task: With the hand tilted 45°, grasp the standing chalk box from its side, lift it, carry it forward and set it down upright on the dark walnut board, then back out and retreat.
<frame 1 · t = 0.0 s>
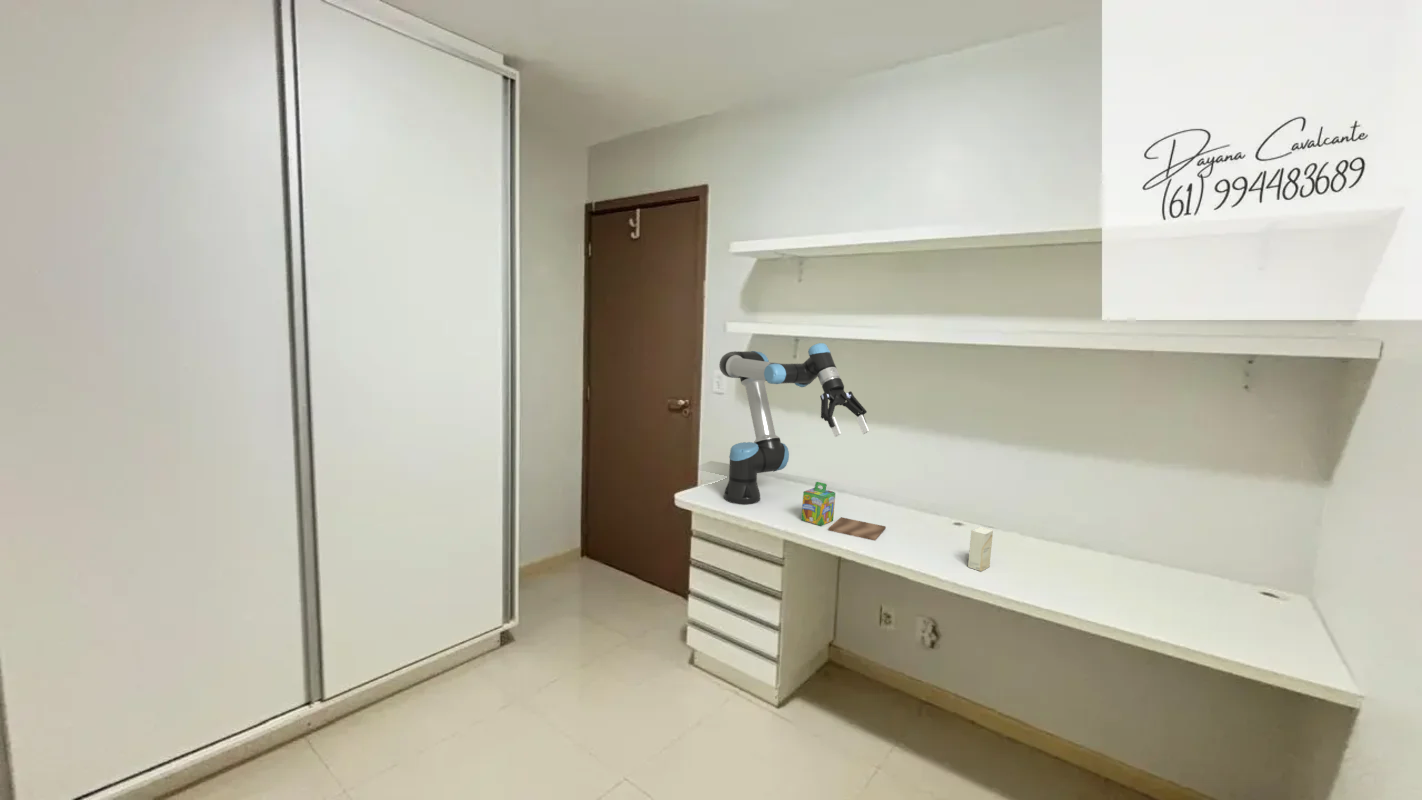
hand: (852, 433, 208), 36 cm above the table, tool tilted 35°, fingers open, 13 cm apart
walnut board: (857, 529, 215), on the table
skincare box: (978, 567, 185), on the table
chalk box: (817, 521, 223), on the table
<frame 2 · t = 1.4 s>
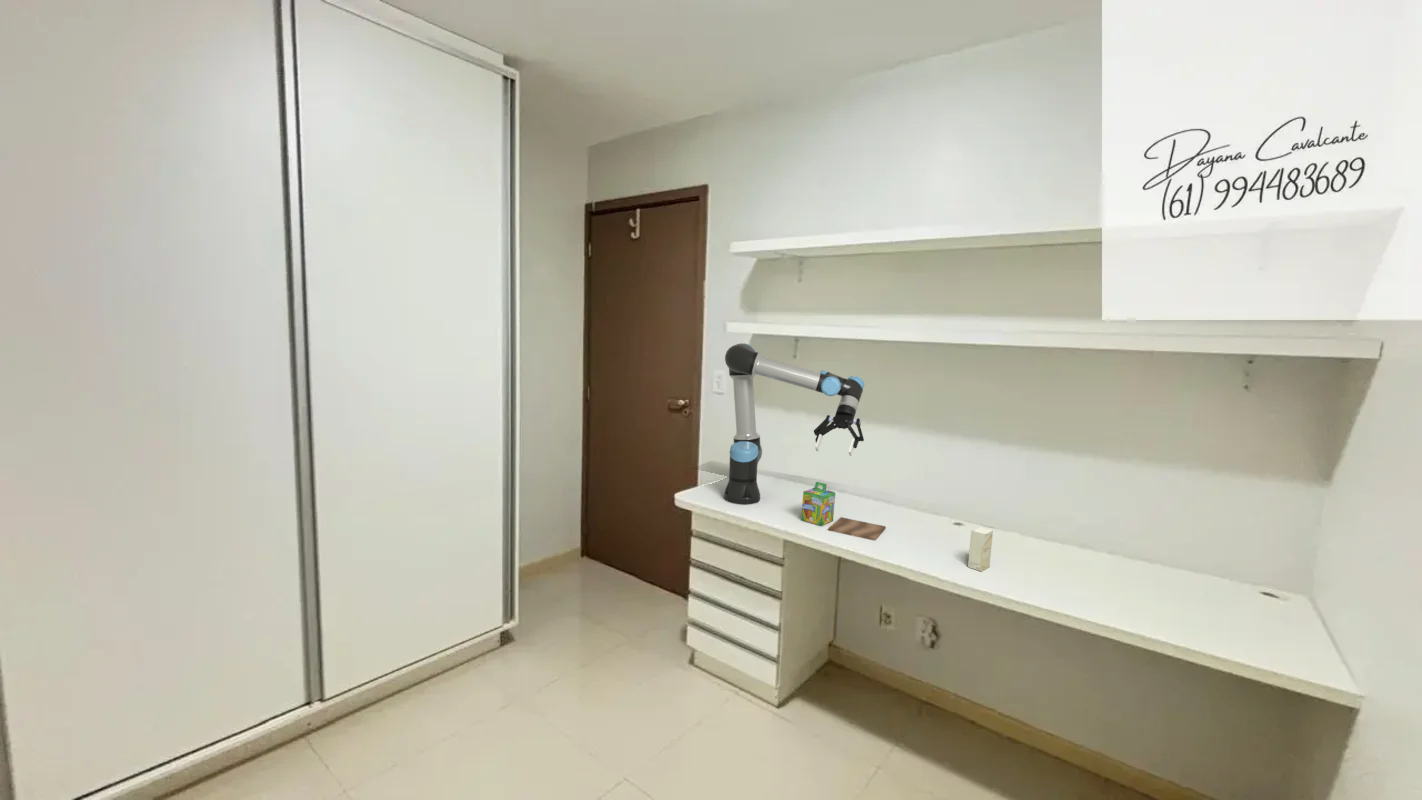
hand: (833, 451, 230), 25 cm above the table, tool tilted 45°, fingers open, 13 cm apart
nothing on the table moved.
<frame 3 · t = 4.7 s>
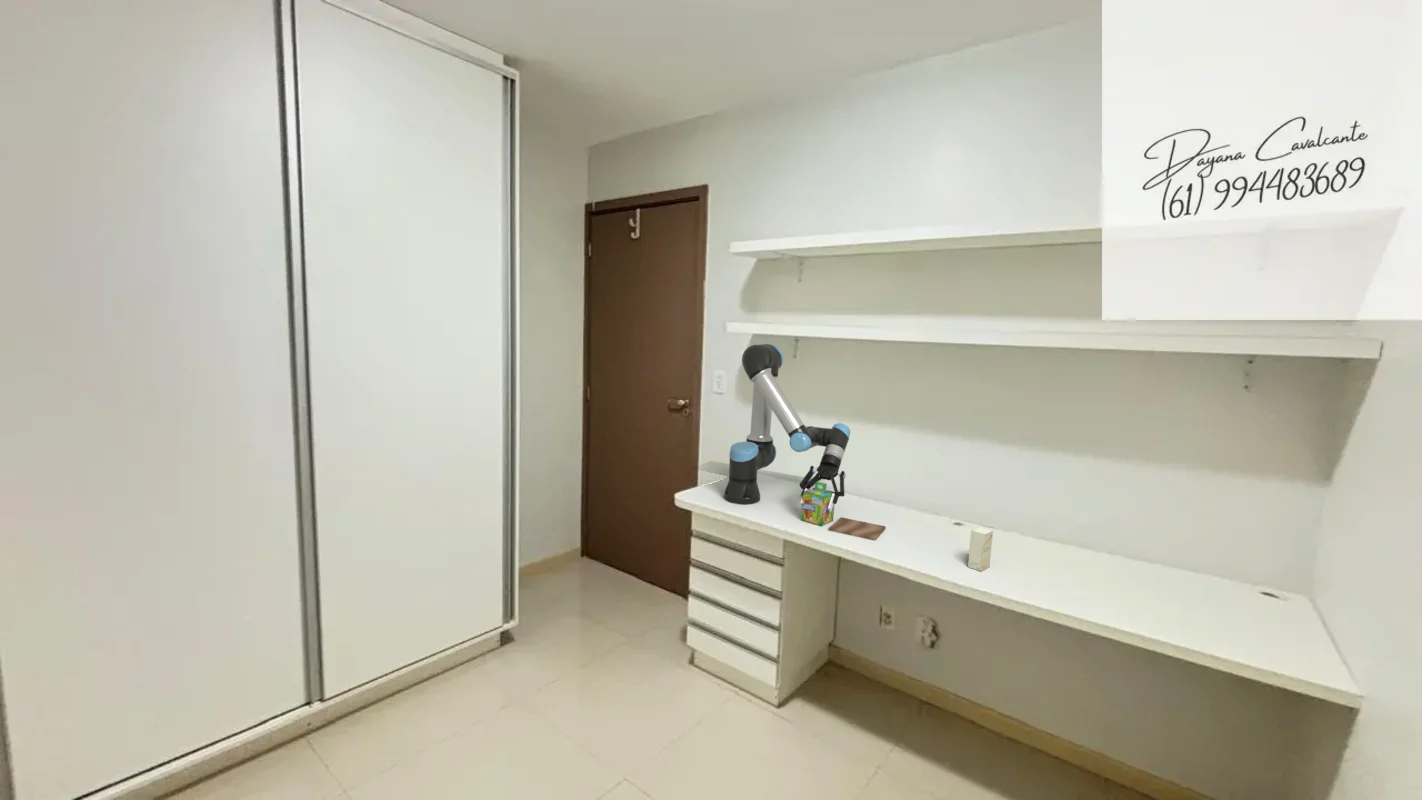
hand: (815, 507, 219), 6 cm above the table, tool tilted 45°, fingers closed on chalk box, 10 cm apart
chalk box: (817, 521, 223), on the table, touching gripper
everything else where it was.
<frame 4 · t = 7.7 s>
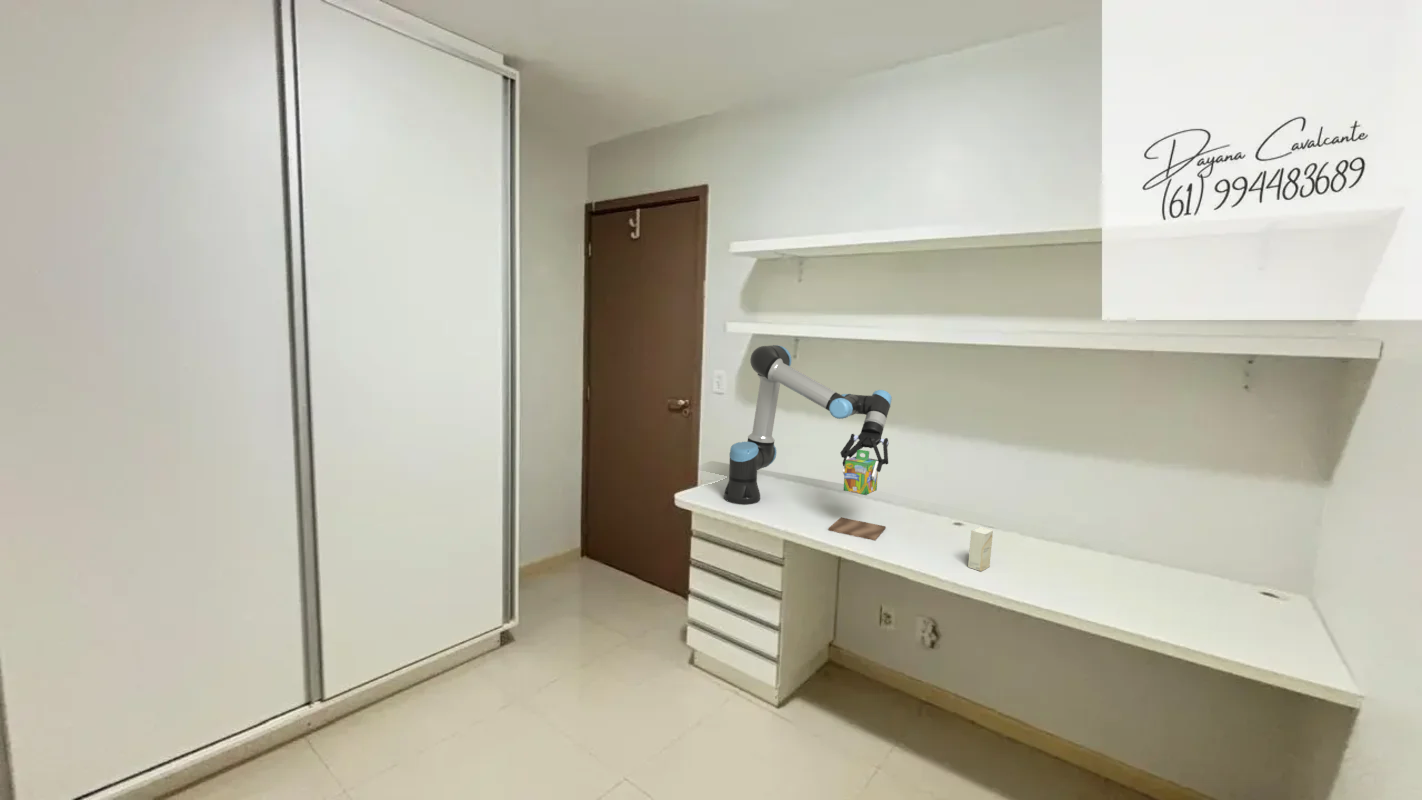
hand: (858, 475, 209), 21 cm above the table, tool tilted 45°, fingers closed on chalk box, 10 cm apart
chalk box: (860, 491, 213), point 15 cm above the table, touching gripper
everything else where it was.
when the fingers open (8 cm above the table, at t = 11.1 s): chalk box drops 1 cm, resting on walnut board.
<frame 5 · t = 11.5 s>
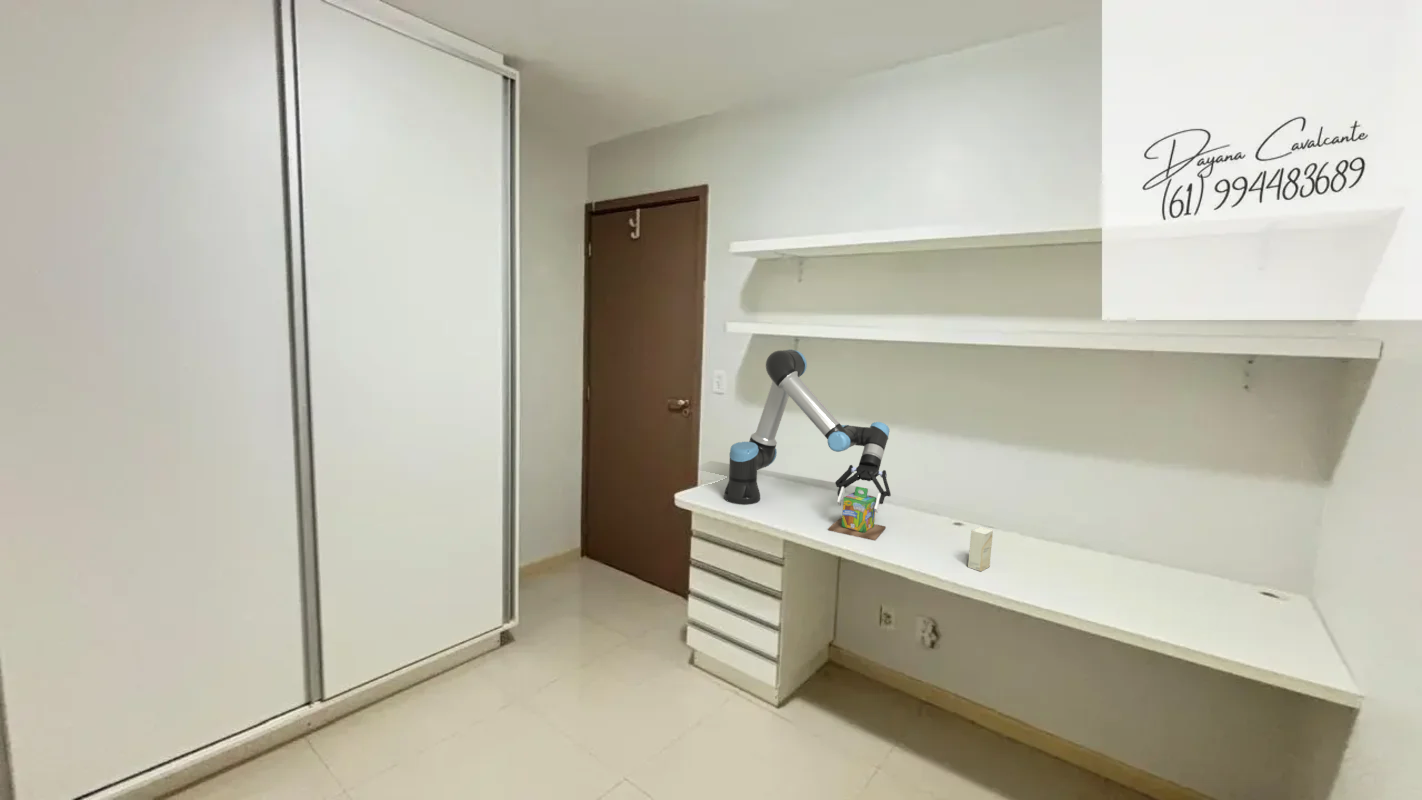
hand: (857, 507, 211), 9 cm above the table, tool tilted 45°, fingers open, 13 cm apart
chalk box: (857, 527, 214), point 1 cm above the table, touching walnut board
everything else where it was.
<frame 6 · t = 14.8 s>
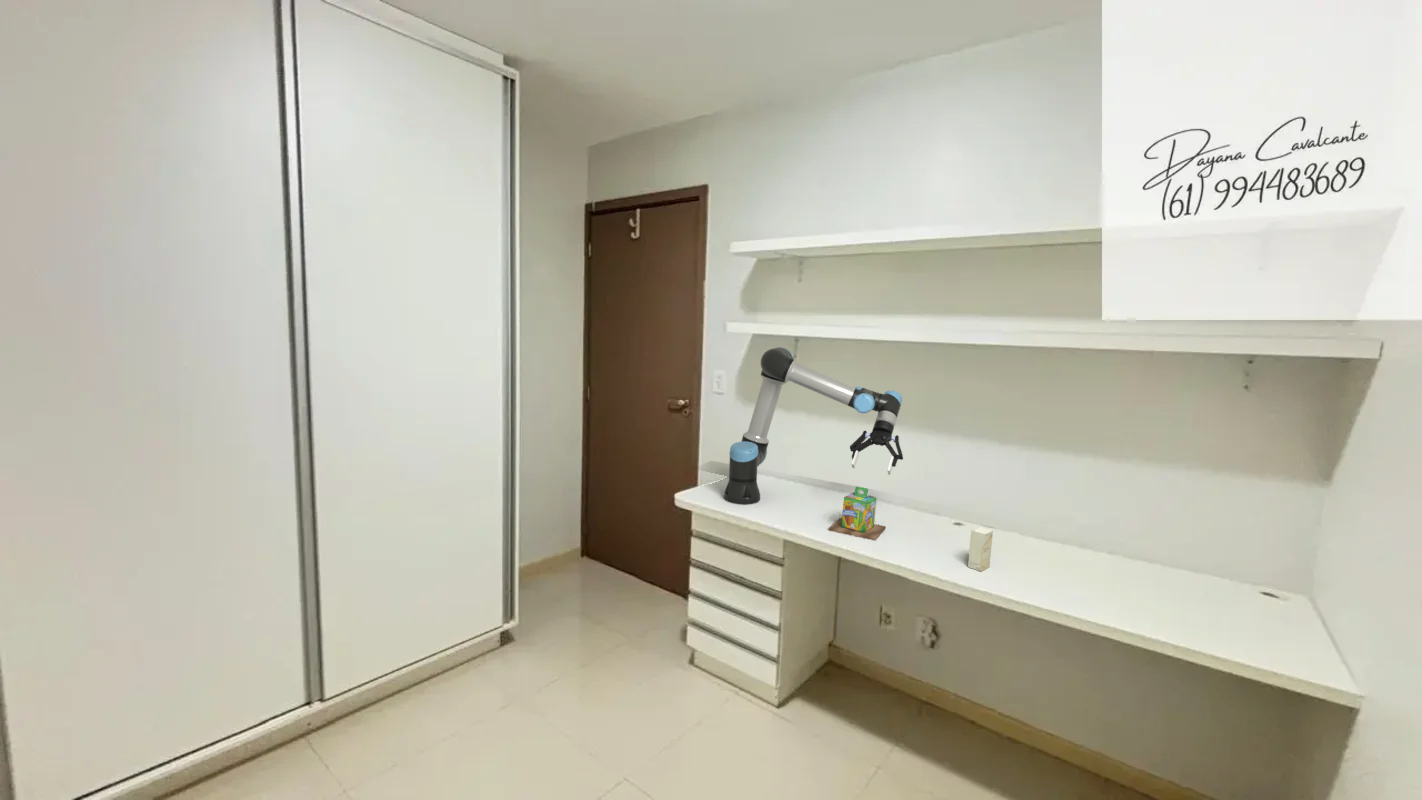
hand: (870, 469, 221), 20 cm above the table, tool tilted 45°, fingers open, 13 cm apart
nothing on the table moved.
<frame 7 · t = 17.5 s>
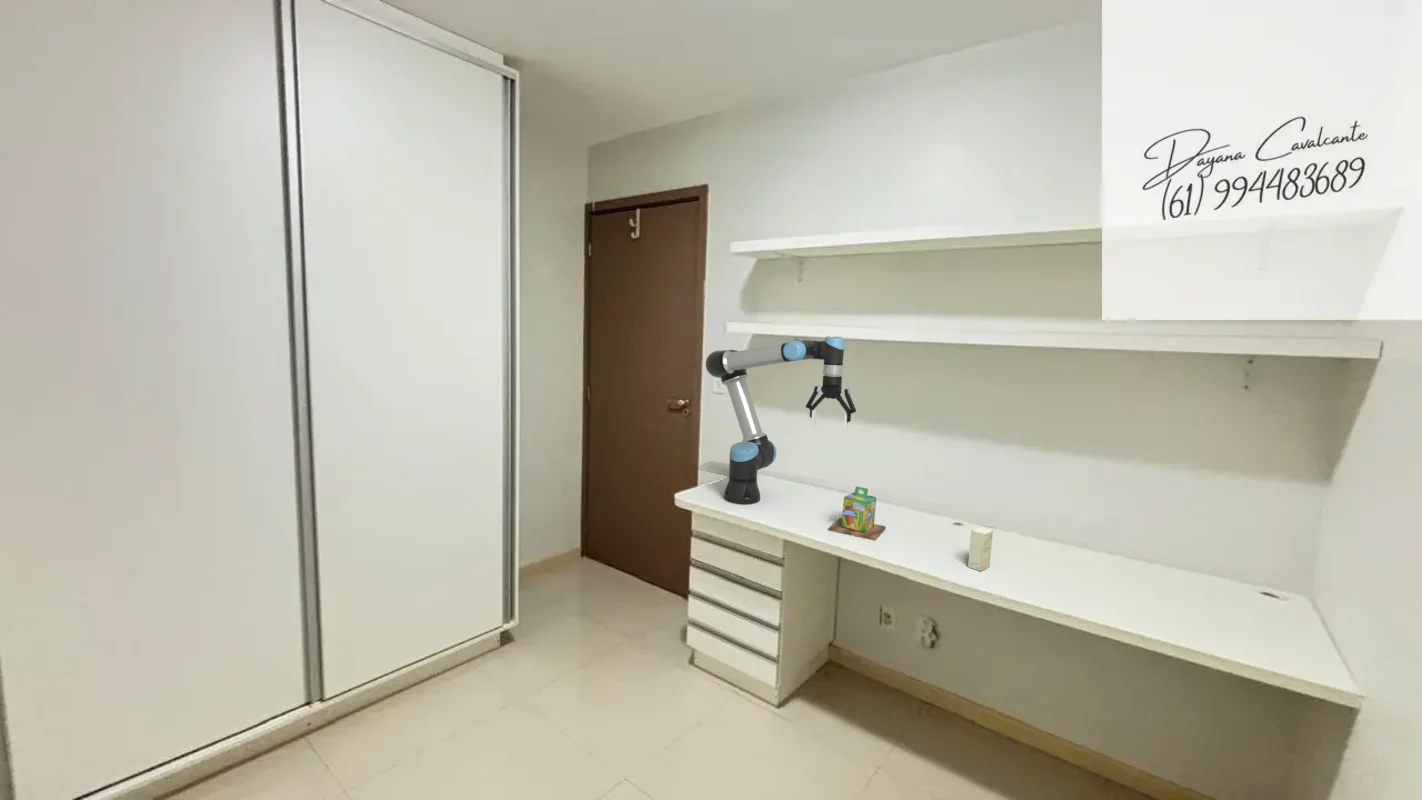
hand: (829, 427, 237), 33 cm above the table, tool pointing down, fingers open, 13 cm apart
nothing on the table moved.
at the end: chalk box inside the target area on the walnut board (0.2 cm from its centre), point 0.8 cm above the walnut board's base; chalk box tilted 0°; the gripper is holding nothing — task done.
